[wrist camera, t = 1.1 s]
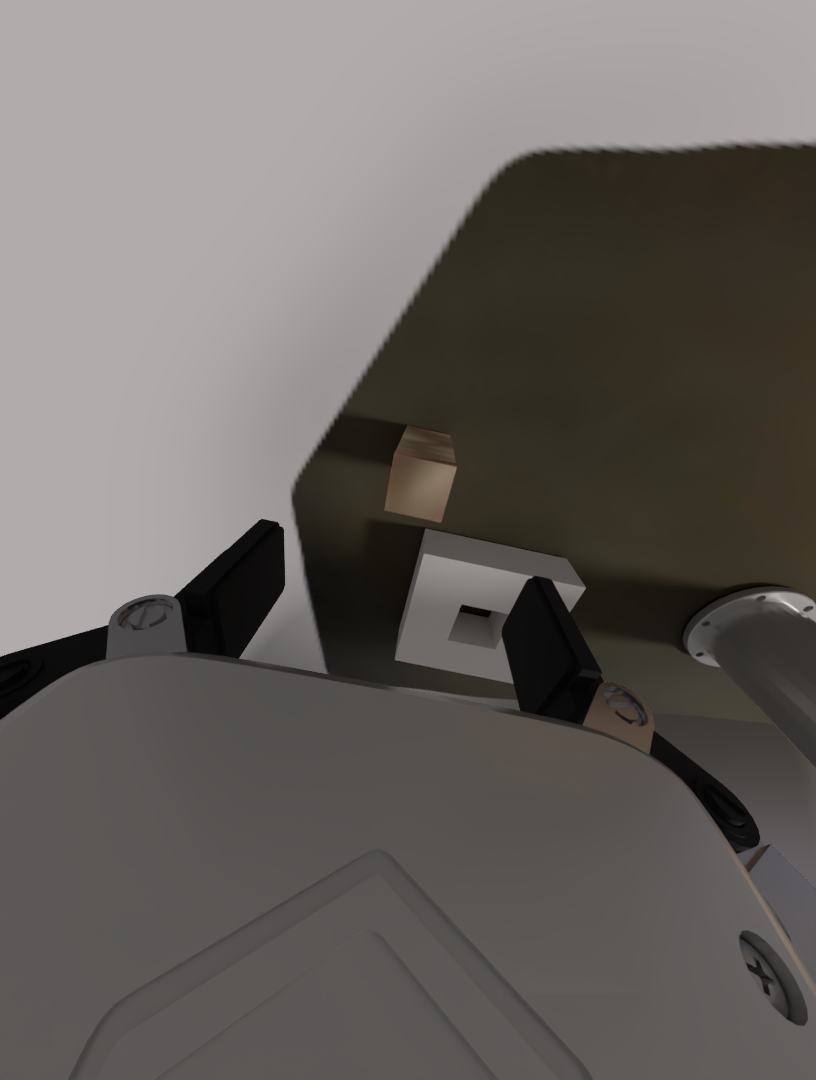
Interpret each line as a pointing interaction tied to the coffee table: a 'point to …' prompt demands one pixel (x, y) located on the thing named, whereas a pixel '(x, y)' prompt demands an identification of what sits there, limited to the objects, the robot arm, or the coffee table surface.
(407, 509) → the maple peg
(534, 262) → the coffee table surface
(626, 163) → the coffee table surface
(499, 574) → the socket block
